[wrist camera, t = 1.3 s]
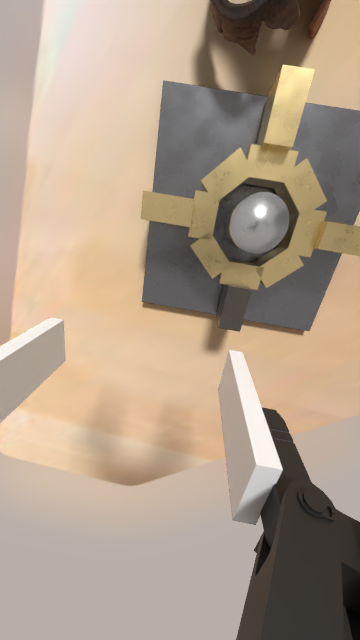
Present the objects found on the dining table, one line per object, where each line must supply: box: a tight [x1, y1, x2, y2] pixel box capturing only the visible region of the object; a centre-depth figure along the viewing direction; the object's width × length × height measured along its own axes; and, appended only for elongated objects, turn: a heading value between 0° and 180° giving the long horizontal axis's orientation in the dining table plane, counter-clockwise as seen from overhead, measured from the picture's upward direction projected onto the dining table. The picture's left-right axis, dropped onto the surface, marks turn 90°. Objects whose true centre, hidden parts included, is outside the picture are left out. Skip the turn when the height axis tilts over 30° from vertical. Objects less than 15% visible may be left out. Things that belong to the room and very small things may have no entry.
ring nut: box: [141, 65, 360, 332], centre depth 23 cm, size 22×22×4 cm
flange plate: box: [142, 81, 360, 331], centre depth 23 cm, size 22×22×6 cm
